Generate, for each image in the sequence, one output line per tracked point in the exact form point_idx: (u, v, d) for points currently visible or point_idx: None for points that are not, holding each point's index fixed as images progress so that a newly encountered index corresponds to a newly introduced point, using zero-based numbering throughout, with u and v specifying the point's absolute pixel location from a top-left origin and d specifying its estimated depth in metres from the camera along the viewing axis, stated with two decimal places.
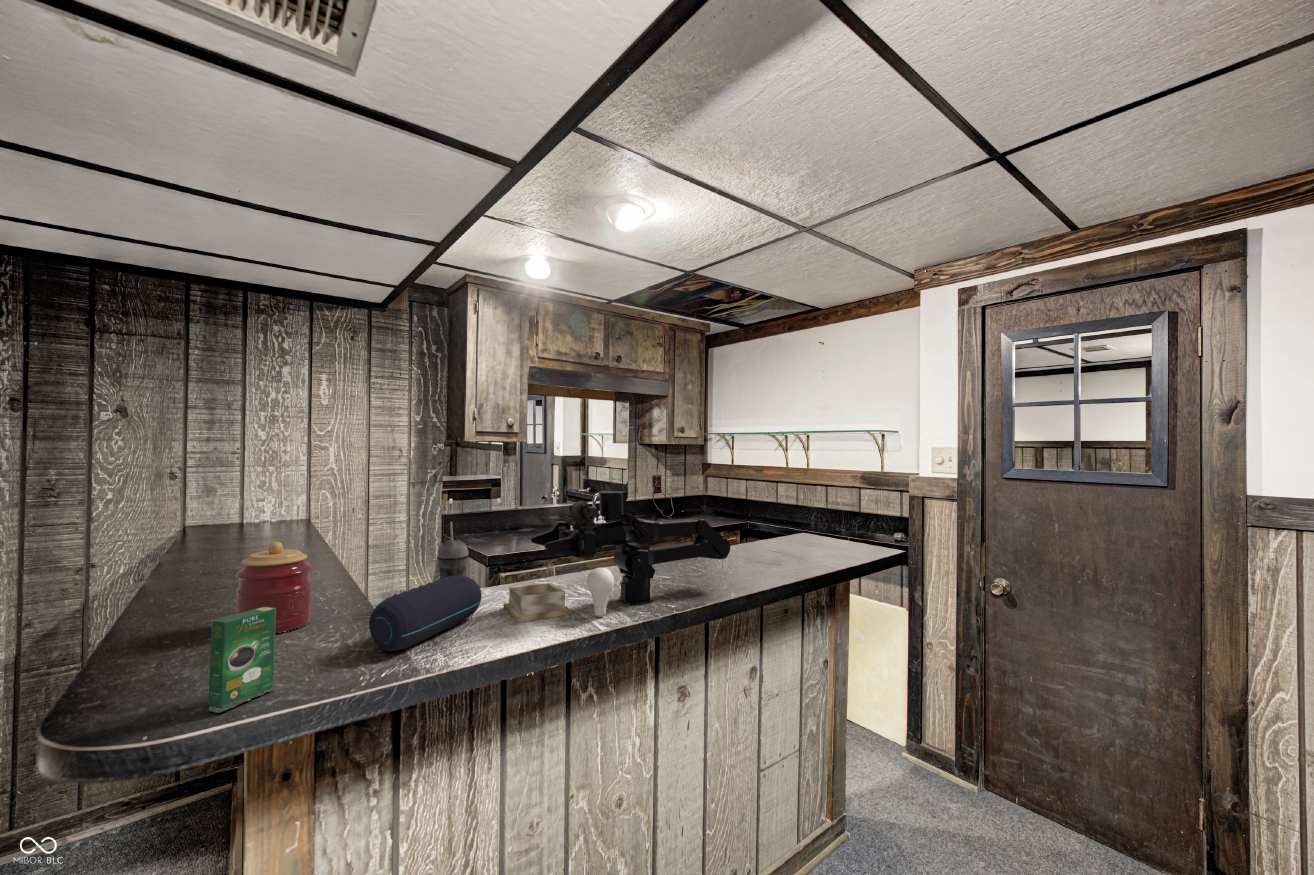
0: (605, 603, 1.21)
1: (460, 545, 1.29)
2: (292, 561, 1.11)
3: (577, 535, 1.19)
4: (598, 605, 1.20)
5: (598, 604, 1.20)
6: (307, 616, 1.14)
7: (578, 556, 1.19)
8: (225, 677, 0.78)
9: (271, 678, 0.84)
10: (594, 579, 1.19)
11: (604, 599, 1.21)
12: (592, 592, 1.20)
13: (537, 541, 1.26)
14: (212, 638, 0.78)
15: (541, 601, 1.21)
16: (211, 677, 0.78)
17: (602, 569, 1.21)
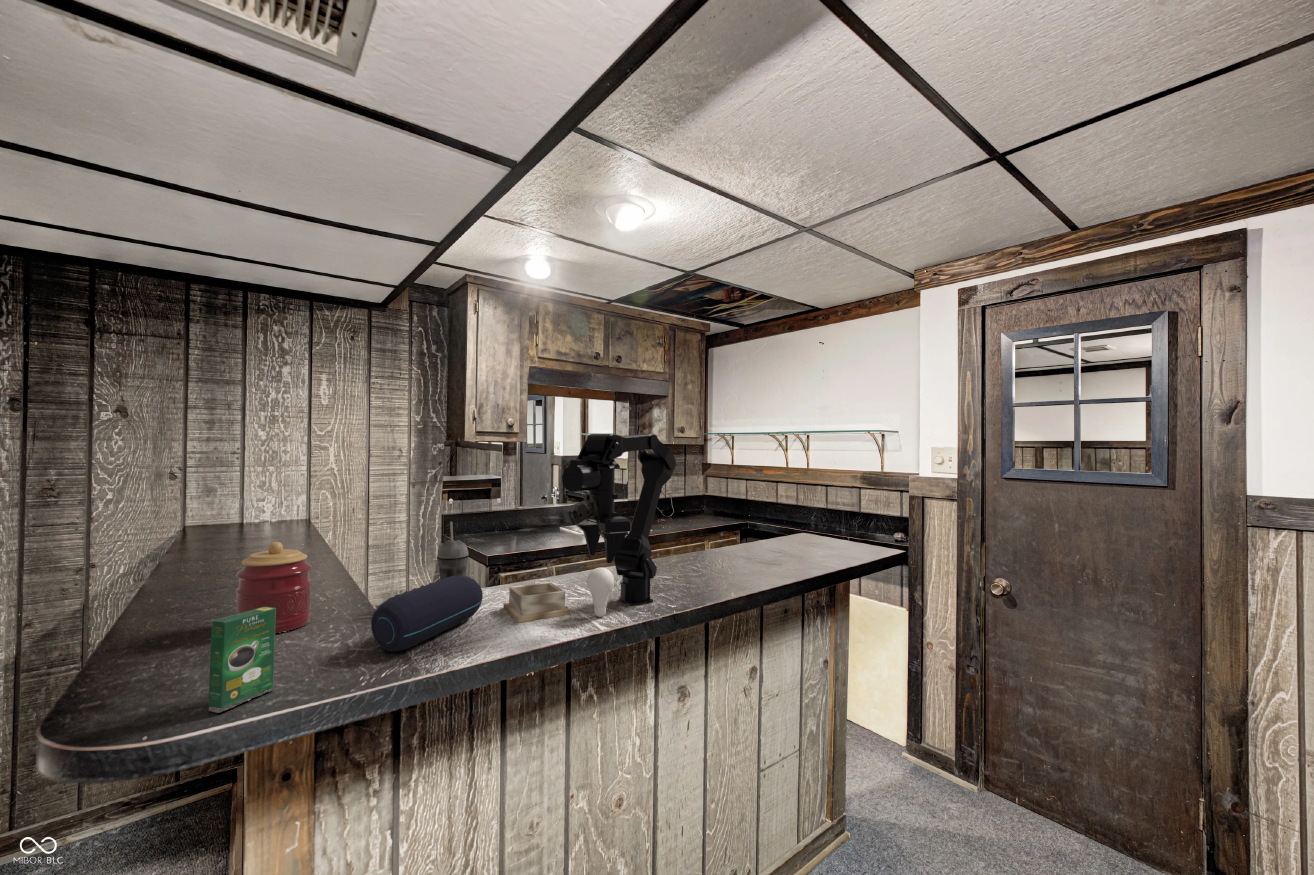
0: (605, 603, 1.21)
1: (460, 545, 1.29)
2: (292, 561, 1.11)
3: (606, 535, 1.15)
4: (598, 605, 1.20)
5: (598, 604, 1.20)
6: (307, 616, 1.14)
7: None
8: (225, 677, 0.78)
9: (271, 678, 0.84)
10: (594, 579, 1.19)
11: (604, 599, 1.21)
12: (592, 592, 1.20)
13: (594, 549, 1.26)
14: (212, 638, 0.78)
15: (541, 601, 1.21)
16: (211, 677, 0.78)
17: (602, 569, 1.21)
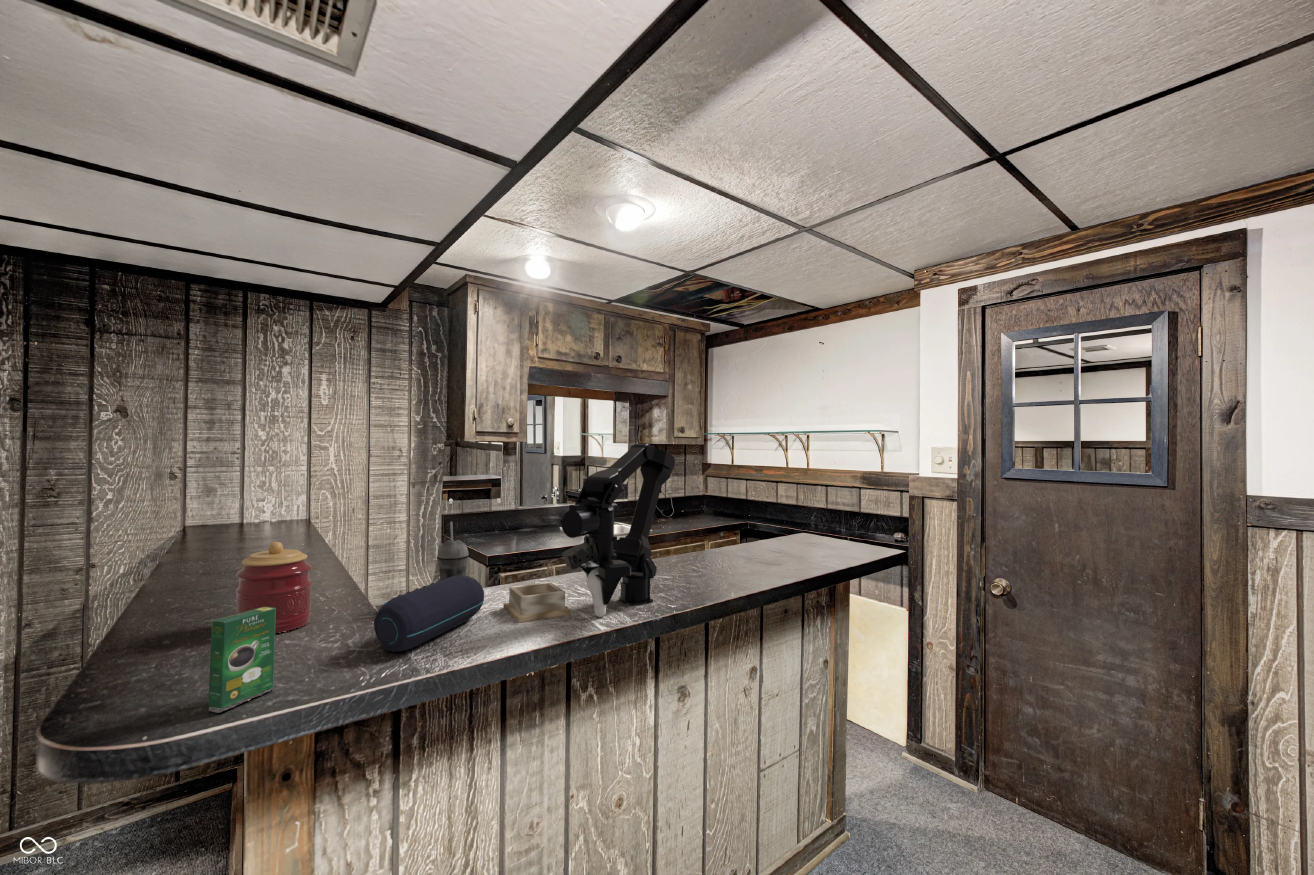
0: None
1: (460, 545, 1.29)
2: (292, 561, 1.11)
3: None
4: (598, 605, 1.20)
5: (598, 604, 1.20)
6: (307, 616, 1.14)
7: (622, 576, 1.18)
8: (225, 677, 0.78)
9: (271, 678, 0.84)
10: (594, 579, 1.19)
11: None
12: (592, 592, 1.20)
13: None
14: (212, 638, 0.78)
15: (541, 601, 1.21)
16: (211, 677, 0.78)
17: None
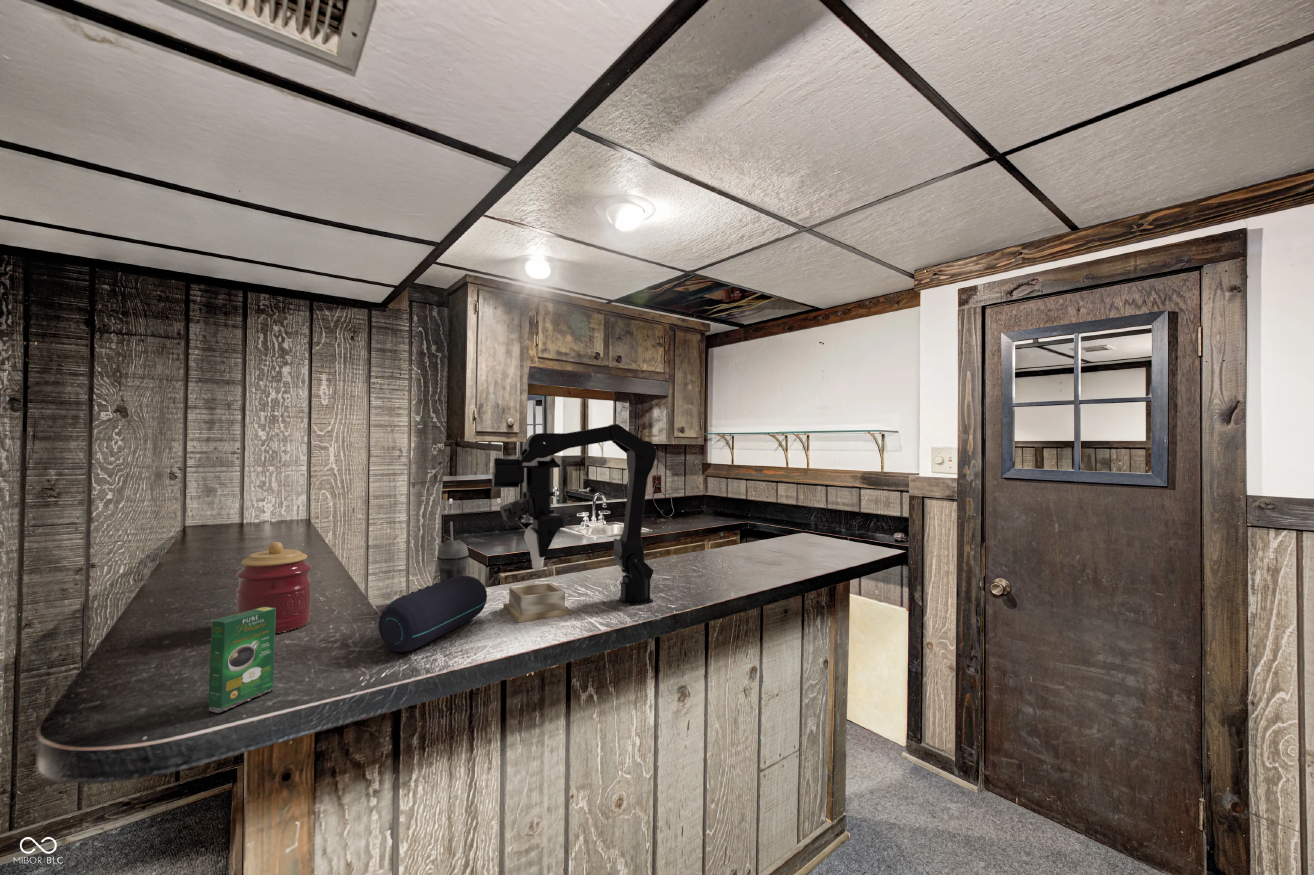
0: None
1: (460, 545, 1.29)
2: (292, 561, 1.11)
3: None
4: (535, 558, 1.24)
5: (535, 557, 1.24)
6: (307, 616, 1.14)
7: (557, 529, 1.22)
8: (225, 677, 0.78)
9: (271, 678, 0.84)
10: (530, 533, 1.23)
11: None
12: (529, 546, 1.24)
13: None
14: (212, 638, 0.78)
15: (541, 601, 1.21)
16: (211, 677, 0.78)
17: None
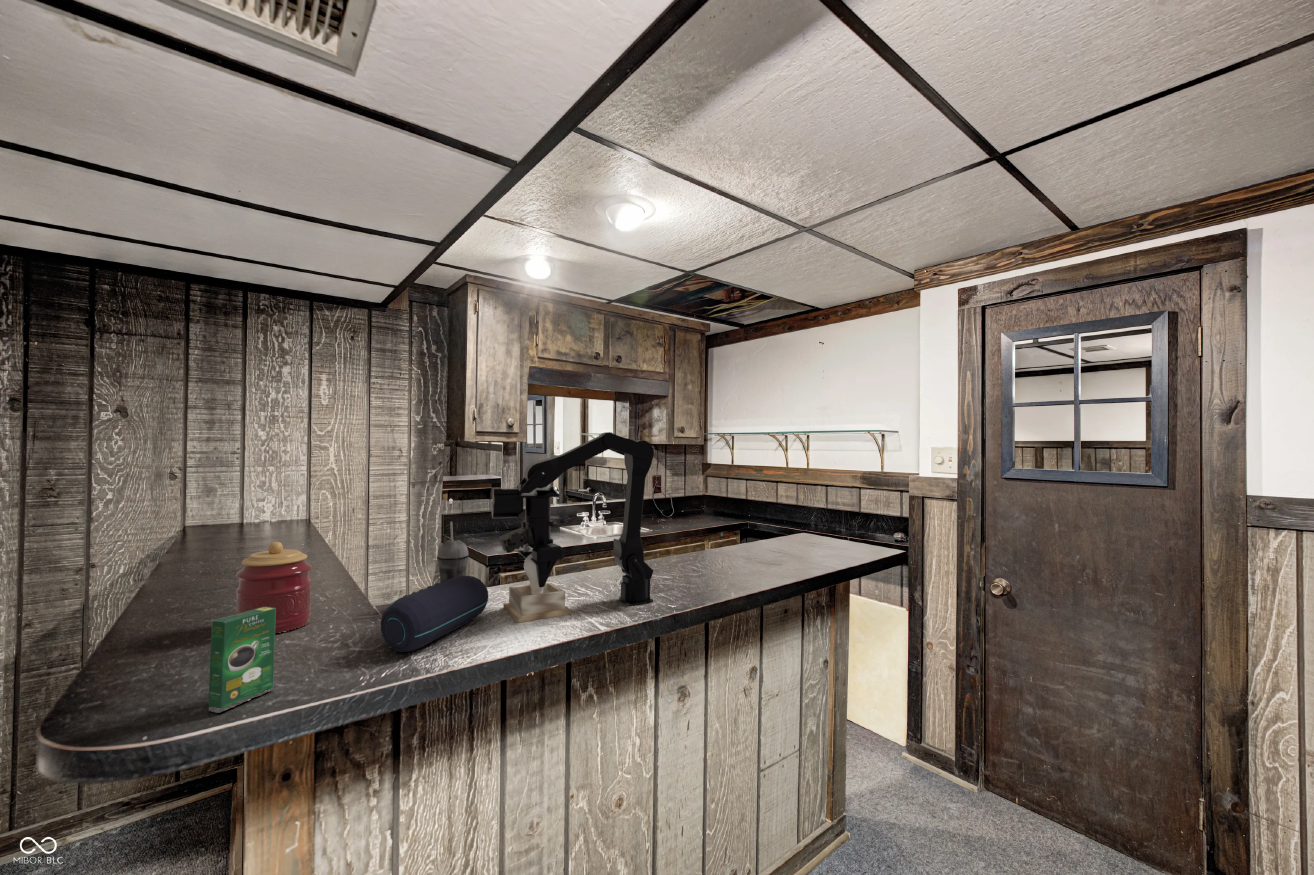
0: None
1: (460, 545, 1.29)
2: (292, 561, 1.11)
3: None
4: (534, 588, 1.24)
5: (534, 587, 1.24)
6: (307, 616, 1.14)
7: (557, 559, 1.22)
8: (225, 677, 0.78)
9: (271, 678, 0.84)
10: (530, 563, 1.23)
11: None
12: (528, 575, 1.24)
13: None
14: (212, 638, 0.78)
15: (541, 601, 1.21)
16: (211, 677, 0.78)
17: None
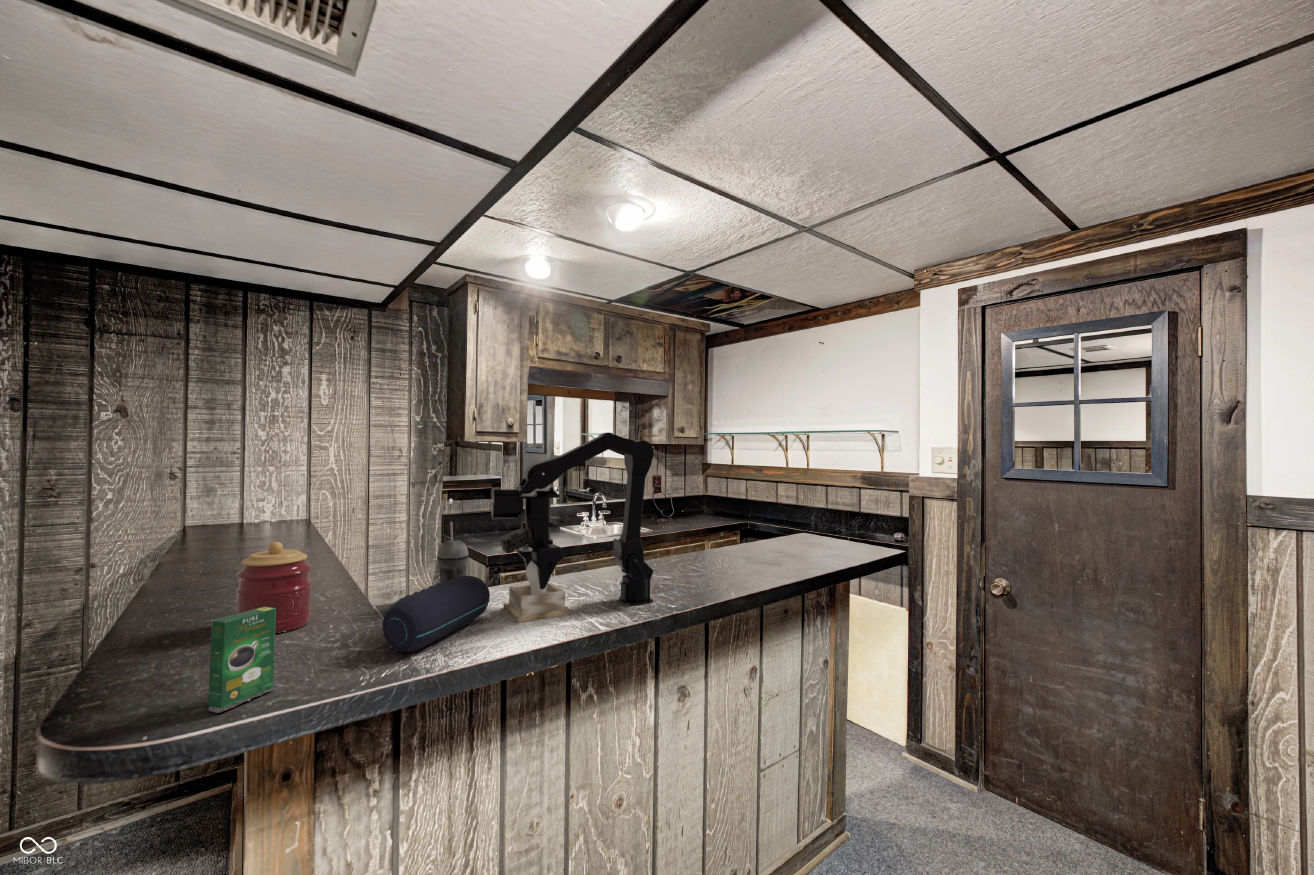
0: None
1: (460, 545, 1.29)
2: (292, 561, 1.11)
3: (538, 563, 1.19)
4: None
5: (535, 593, 1.24)
6: (307, 616, 1.14)
7: None
8: (225, 677, 0.78)
9: (271, 678, 0.84)
10: (532, 569, 1.24)
11: None
12: (530, 581, 1.24)
13: None
14: (212, 638, 0.78)
15: (541, 601, 1.21)
16: (211, 677, 0.78)
17: None
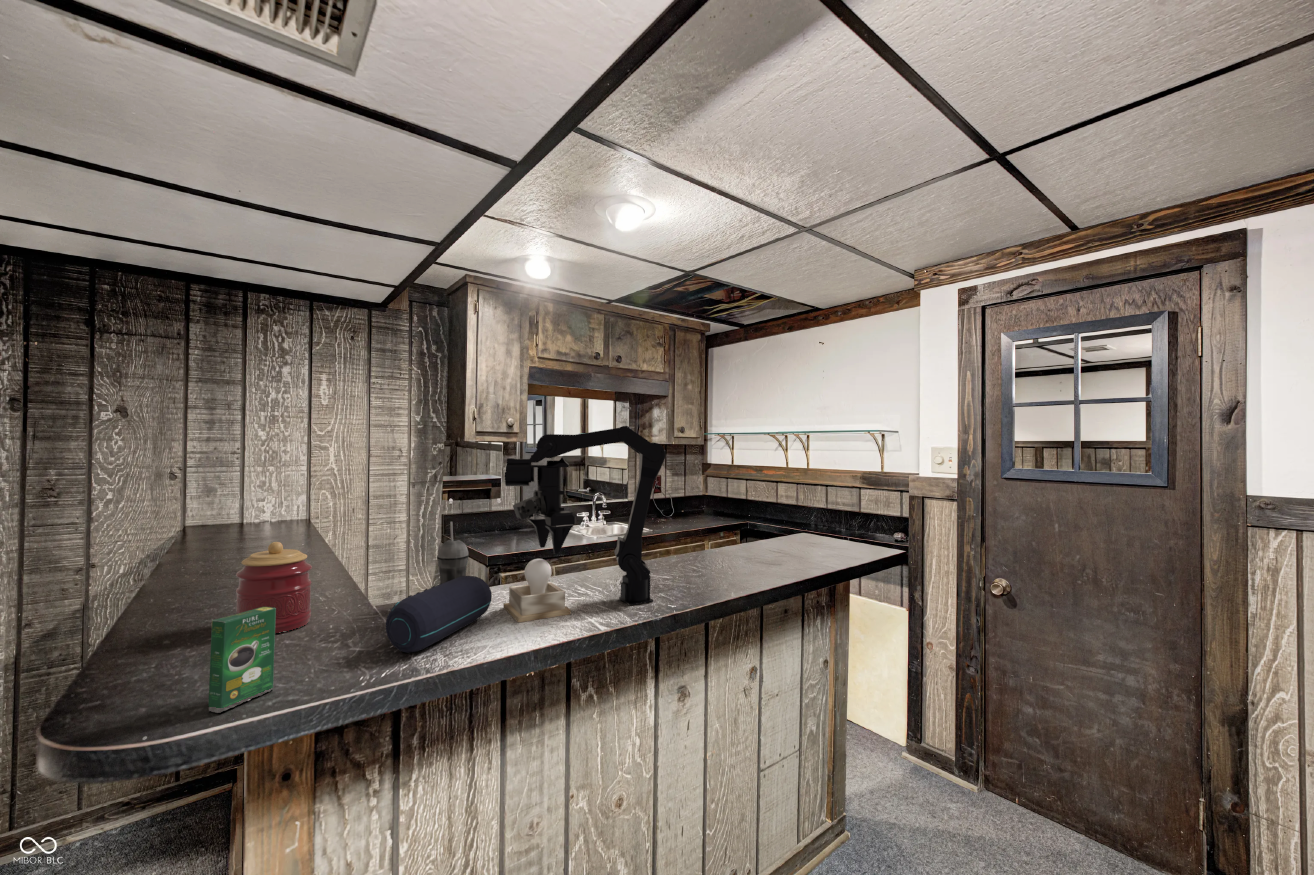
0: None
1: (460, 545, 1.29)
2: (292, 561, 1.11)
3: (552, 528, 1.24)
4: None
5: None
6: (307, 616, 1.14)
7: (571, 527, 1.27)
8: (225, 677, 0.78)
9: (271, 678, 0.84)
10: (531, 570, 1.23)
11: (540, 589, 1.24)
12: (529, 582, 1.24)
13: (544, 541, 1.36)
14: (212, 638, 0.78)
15: (541, 601, 1.21)
16: (211, 677, 0.78)
17: (539, 560, 1.25)
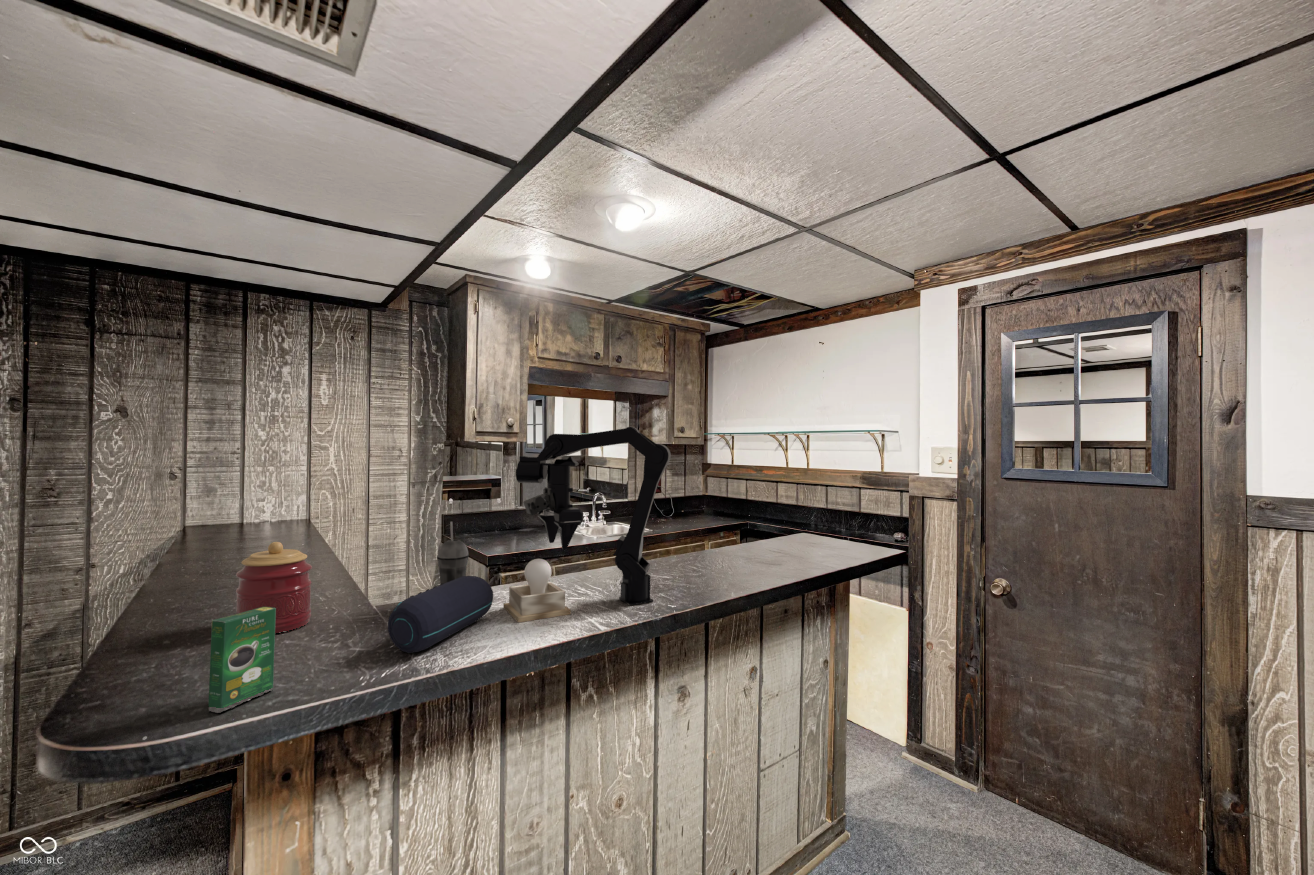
0: None
1: (460, 545, 1.29)
2: (292, 561, 1.11)
3: (561, 524, 1.30)
4: None
5: None
6: (307, 616, 1.14)
7: None
8: (225, 677, 0.78)
9: (271, 678, 0.84)
10: (531, 570, 1.23)
11: (540, 589, 1.24)
12: (529, 582, 1.24)
13: (553, 537, 1.41)
14: (212, 638, 0.78)
15: (541, 601, 1.21)
16: (211, 677, 0.78)
17: (539, 560, 1.25)
